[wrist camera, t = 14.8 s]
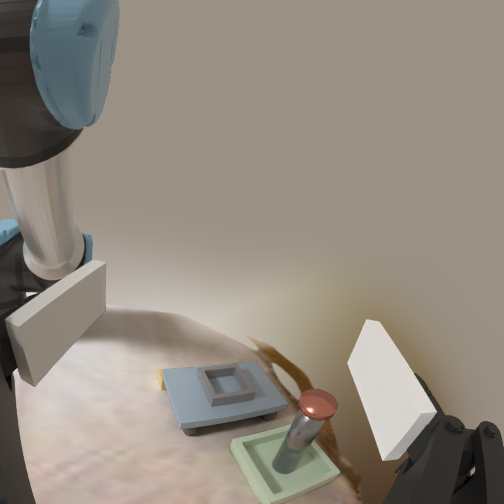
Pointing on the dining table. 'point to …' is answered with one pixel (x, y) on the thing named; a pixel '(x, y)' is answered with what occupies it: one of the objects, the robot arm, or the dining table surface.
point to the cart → (220, 394)
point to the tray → (271, 482)
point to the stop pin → (304, 428)
